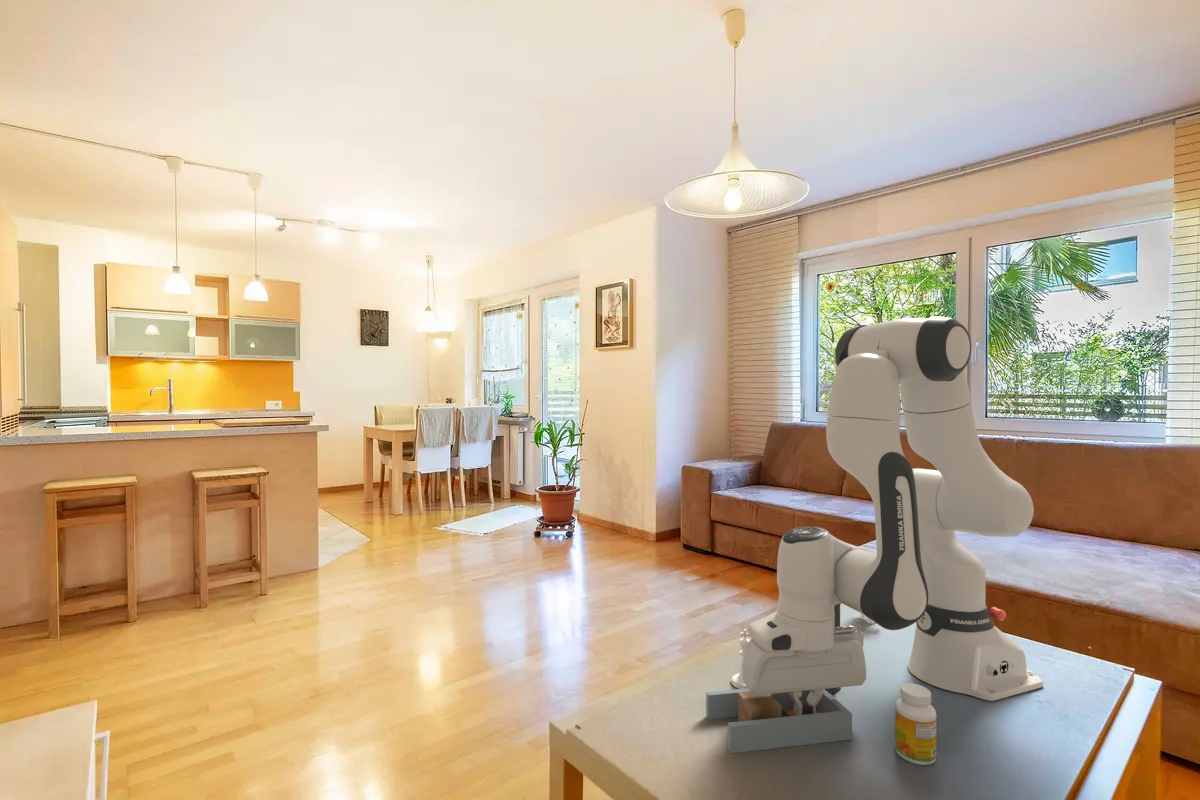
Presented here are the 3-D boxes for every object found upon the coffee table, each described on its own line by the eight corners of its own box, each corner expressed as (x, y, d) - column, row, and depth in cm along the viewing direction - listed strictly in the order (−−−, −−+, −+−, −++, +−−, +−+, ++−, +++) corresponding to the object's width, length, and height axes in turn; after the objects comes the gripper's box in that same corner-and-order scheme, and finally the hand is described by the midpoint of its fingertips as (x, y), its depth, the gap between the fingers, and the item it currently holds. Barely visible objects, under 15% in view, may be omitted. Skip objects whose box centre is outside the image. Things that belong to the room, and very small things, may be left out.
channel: (816, 704, 98) (816, 681, 98) (851, 739, 88) (852, 713, 88) (706, 716, 94) (706, 692, 94) (730, 753, 84) (730, 726, 84)
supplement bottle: (888, 743, 87) (888, 680, 87) (923, 744, 87) (924, 680, 87) (906, 766, 81) (906, 698, 81) (944, 767, 81) (944, 699, 81)
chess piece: (759, 691, 102) (759, 636, 102) (731, 689, 103) (731, 634, 103) (757, 678, 107) (757, 625, 107) (730, 675, 108) (731, 623, 108)
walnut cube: (766, 719, 93) (766, 689, 93) (781, 737, 88) (781, 705, 88) (737, 722, 92) (737, 692, 92) (751, 741, 87) (751, 708, 87)
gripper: (851, 617, 97) (850, 698, 97) (738, 625, 93) (738, 709, 93) (875, 632, 90) (874, 718, 90) (755, 641, 87) (755, 731, 87)
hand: (804, 714), depth 92 cm, fingers closed
